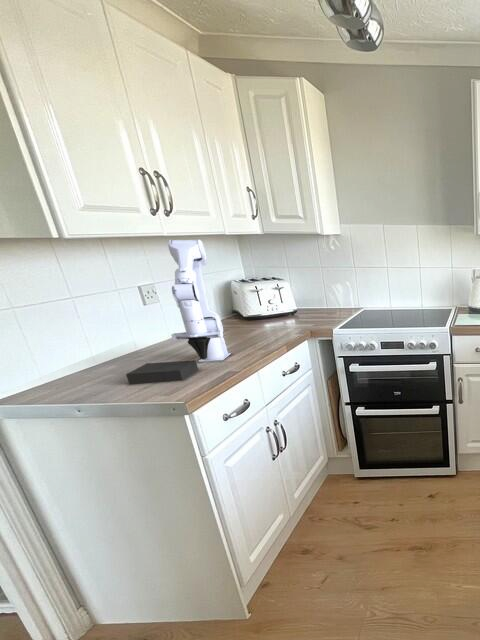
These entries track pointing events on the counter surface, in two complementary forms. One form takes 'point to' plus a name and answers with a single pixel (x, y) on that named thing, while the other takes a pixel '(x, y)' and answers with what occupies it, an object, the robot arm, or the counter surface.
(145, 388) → the counter surface
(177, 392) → the counter surface
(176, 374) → the tab pad
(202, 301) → the robot arm
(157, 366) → the notch pad
